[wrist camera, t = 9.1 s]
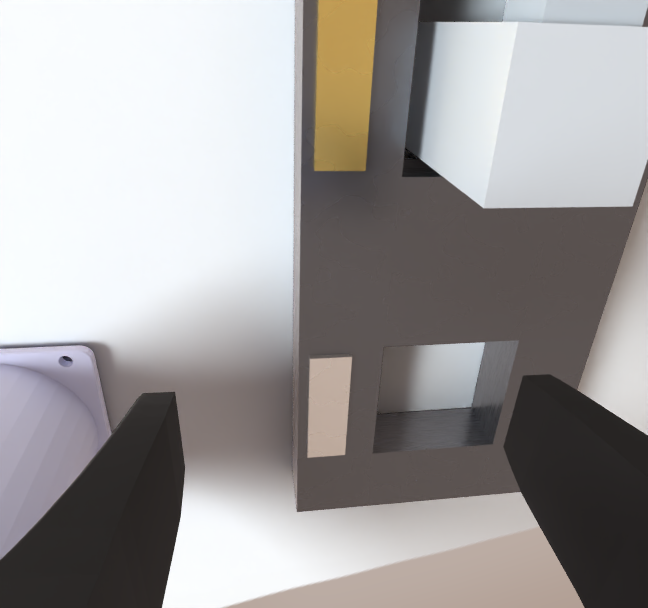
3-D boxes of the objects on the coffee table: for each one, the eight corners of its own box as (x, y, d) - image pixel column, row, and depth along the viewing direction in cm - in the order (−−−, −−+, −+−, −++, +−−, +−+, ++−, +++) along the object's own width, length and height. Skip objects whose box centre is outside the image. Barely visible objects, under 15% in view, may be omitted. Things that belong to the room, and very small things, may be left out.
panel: (292, 470, 26) (297, 515, 23) (296, -165, 14) (306, -202, 12) (519, 452, 27) (545, 492, 25) (687, -131, 16) (765, -157, 13)
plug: (405, 147, 19) (483, 208, 13) (421, -4, 16) (526, -19, 10) (509, 148, 19) (632, 206, 13) (538, 2, 17) (703, -9, 11)
